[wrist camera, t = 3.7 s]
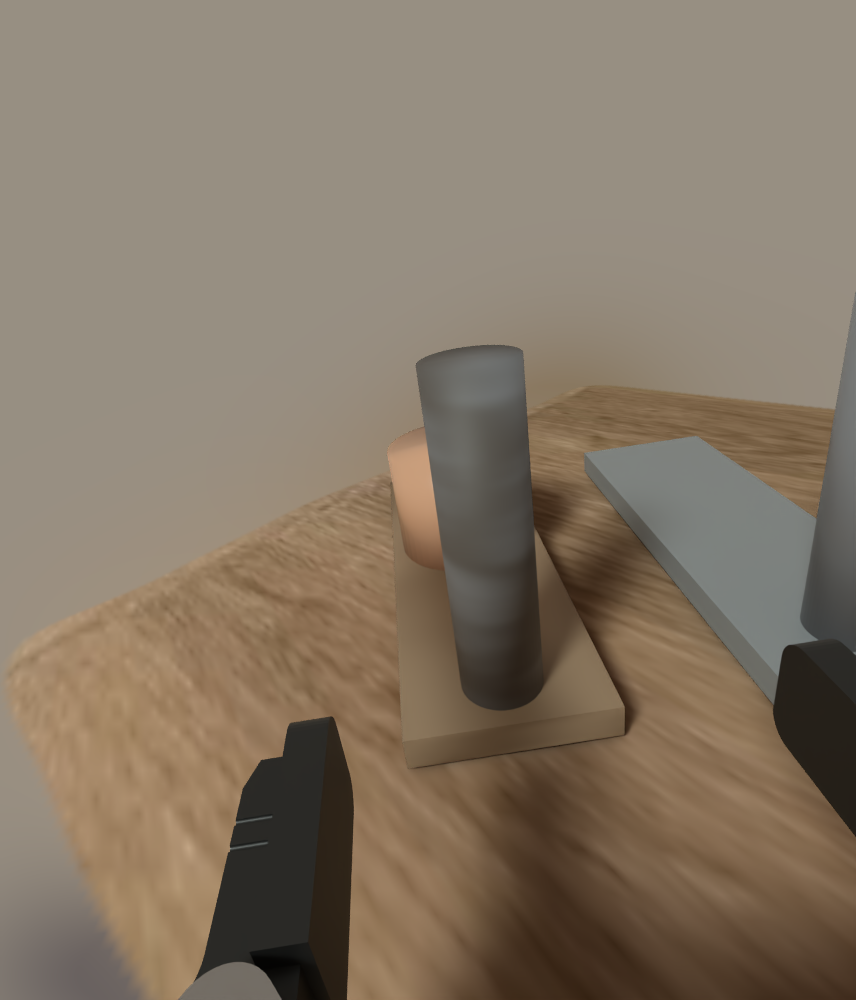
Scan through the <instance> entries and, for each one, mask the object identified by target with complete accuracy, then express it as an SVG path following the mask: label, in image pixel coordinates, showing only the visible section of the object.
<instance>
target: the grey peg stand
mask: <svg viewBox="0 0 856 1000" xmlns="http://www.w3.org/2000/svg"><path fill="white" fill-rule="evenodd" d="M584 463H585V472H586V473H587V474H588V476H589V477H590V478H591V479H592V481H593V482H594V483H595V484H596V486H597V487H598V488H599V489H600V491H601V492H602V493H603V494H604V496H605V497H606V498H607V499H608V500H609V502H610V503H611V504H612V505H613V507H614V508H615V509H616V510H617V512H618V513H619V514H620V515H621V517H622V518H623V519H624V520H625V522H626V523H627V524H628V525H629V526H630V528H631V529H632V530H633V531H634V533H635V534H636V535H637V536H638V538H639V539H640V540H641V541H642V543H643V544H644V545H645V546H646V548H647V549H648V550H649V551H650V553H651V554H652V555H653V556H654V557H655V559H656V560H657V561H658V562H659V564H660V565H661V566H662V567H663V569H664V570H665V571H666V572H667V574H668V575H669V576H670V577H671V579H672V580H673V581H674V582H675V583H676V585H677V586H678V587H679V588H680V590H681V591H682V592H683V593H684V595H685V596H686V597H687V598H688V600H689V601H690V602H691V603H692V605H693V606H694V607H695V608H696V609H697V611H698V612H699V613H700V614H701V616H702V617H703V618H704V619H705V621H706V622H707V623H708V624H709V626H710V627H711V628H712V629H713V631H714V632H715V633H716V634H717V635H718V637H719V638H720V639H721V640H722V642H723V643H724V644H725V645H726V647H727V648H728V649H729V650H730V652H731V653H732V654H733V655H734V657H735V658H736V659H737V660H738V661H739V663H740V664H741V665H742V666H743V668H744V669H745V670H746V671H747V673H748V674H749V675H750V676H751V678H752V679H753V680H754V681H755V683H756V684H757V685H758V686H759V688H760V689H761V690H762V691H763V692H764V694H765V695H766V696H767V697H768V699H769V700H770V701H771V702H772V704H773V705H774V700H775V694H776V688H777V682H778V675H779V669H780V663H781V657H782V652H783V650H784V648H785V647H786V646H788V645H792V644H798V643H805V642H811V641H817V640H823V639H830V638H832V639H836V640H838V641H840V642H842V643H843V644H844V645H845V646H846V647H847V648H849V649H850V650H851V651H852V652H853V653H854V654H855V655H856V293H855V298H854V304H853V309H852V316H851V321H850V327H849V333H848V339H847V344H846V351H845V356H844V362H843V368H842V374H841V380H840V386H839V392H838V397H837V403H836V409H835V415H834V420H833V426H832V432H831V438H830V444H829V450H828V455H827V461H826V467H825V473H824V479H823V485H822V491H821V496H820V502H819V508H818V514H817V519H816V518H814V517H813V516H812V515H810V514H809V513H807V512H806V511H804V510H803V509H801V508H800V507H799V506H797V505H796V504H794V503H793V502H791V501H790V500H788V499H787V498H786V497H784V496H783V495H781V494H780V493H778V492H777V491H775V490H774V489H773V488H771V487H770V486H768V485H767V484H765V483H764V482H762V481H761V480H760V479H758V478H757V477H755V476H754V475H752V474H751V473H749V472H748V471H747V470H745V469H744V468H742V467H741V466H739V465H738V464H736V463H735V462H734V461H732V460H731V459H729V458H728V457H726V456H725V455H723V454H722V453H721V452H719V451H718V450H716V449H715V448H713V447H712V446H710V445H709V444H708V443H706V442H705V441H703V440H702V439H700V438H699V437H698V436H693V437H687V438H680V439H674V440H667V441H660V442H654V443H647V444H641V445H634V446H628V447H621V448H614V449H608V450H601V451H595V452H588V453H584Z"/></svg>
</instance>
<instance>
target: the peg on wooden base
mask: <svg viewBox="0 0 856 1000" xmlns="http://www.w3.org/2000/svg"><path fill="white" fill-rule="evenodd" d="M416 371H417V377H418V385H419V392H420V399H421V406H422V413H423V420H424V427H425V434H426V441H427V448H428V455H429V462H430V469H431V476H432V484H433V491H434V498H435V505H436V512H437V519H438V526H439V533H440V540H441V547H442V554H443V561H444V568H445V571H442V570H435V569H430V568H427V567H424V566H422V565H419V564H417V563H415V562H414V561H412V560H411V559H410V558H409V557H408V556H407V555H406V553H405V551H404V546H403V540H402V535H401V529H400V523H399V518H398V512H397V506H396V500H395V495H394V489H393V483H392V482H391V505H392V527H393V549H394V571H395V593H396V615H397V637H398V659H399V682H400V704H401V726H402V743H403V748H404V753H405V757H406V762H407V767H408V769H410V768H416V767H422V766H429V765H435V764H442V763H448V762H454V761H461V760H467V759H473V758H480V757H486V756H492V755H499V754H505V753H512V752H518V751H524V750H531V749H537V748H543V747H550V746H556V745H563V744H569V743H575V742H582V741H588V740H594V739H601V738H607V737H613V736H620V735H624V732H625V706H624V704H623V702H622V700H621V698H620V696H619V694H618V692H617V690H616V688H615V686H614V684H613V682H612V680H611V678H610V676H609V674H608V672H607V670H606V668H605V666H604V664H603V662H602V660H601V658H600V656H599V654H598V652H597V650H596V648H595V646H594V644H593V642H592V640H591V638H590V636H589V634H588V632H587V630H586V628H585V626H584V624H583V622H582V620H581V618H580V616H579V614H578V612H577V610H576V608H575V606H574V604H573V602H572V600H571V599H570V597H569V595H568V593H567V591H566V589H565V587H564V585H563V583H562V581H561V579H560V577H559V575H558V573H557V571H556V569H555V567H554V565H553V563H552V561H551V559H550V557H549V555H548V553H547V551H546V549H545V547H544V545H543V543H542V541H541V539H540V537H539V535H538V533H537V531H536V529H535V527H534V519H533V503H532V487H531V471H530V455H529V439H528V423H527V407H526V391H525V375H524V360H523V351H522V350H521V349H519V348H516V347H512V346H505V345H481V346H470V347H462V348H456V349H451V350H446V351H442V352H438V353H435V354H432V355H429V356H427V357H425V358H423V359H421V360H419V361H418V362H417V363H416Z"/></svg>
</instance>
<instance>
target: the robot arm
mask: <svg viewBox="0 0 856 1000" xmlns="http://www.w3.org/2000/svg"><path fill="white" fill-rule="evenodd" d="M773 715H774V721H775V725H776V728H777V730H778V733H779V735H780V737H781V739H782V741H783V742H784V744H785V745H786V747H787V748H788V750H789V751H790V752H791V753H792V755H793V756H794V757H795V759H796V760H797V761H798V763H799V764H800V765H801V766H802V768H803V769H804V770H805V772H806V773H807V774H808V776H809V777H810V778H811V779H812V781H813V782H814V783H815V785H816V786H817V787H818V788H819V790H820V791H821V792H822V794H823V795H824V796H825V798H826V799H827V800H828V801H829V803H830V804H831V805H832V807H833V808H834V809H835V811H836V812H837V813H838V814H839V816H840V817H841V818H842V820H843V821H844V822H845V824H846V825H847V826H848V827H849V829H850V830H851V831H852V833H853V834H854V835H855V837H856V655H855V654H854V653H853V652H852V651H851V650H850V649H849V648H847V647H846V646H845V645H844V644H843V643H842V642H840V641H838V640H836V639H832V638H830V639H823V640H817V641H811V642H805V643H798V644H792V645H788V646H786V647H785V648H784V650H783V652H782V657H781V663H780V669H779V675H778V682H777V688H776V694H775V700H774V707H773ZM353 818H354V804H353V791H352V783H351V778H350V773H349V770H348V766H347V762H346V759H345V755H344V751H343V748H342V744H341V741H340V737H339V733H338V730H337V726H336V723H335V720H334V718H333V717H325V718H319V719H313V720H306V721H300V722H294V723H290V724H289V726H288V729H287V734H286V739H285V745H284V751H283V757H278V758H272V759H265V760H261V761H260V763H259V764H258V766H257V768H256V769H255V771H254V772H253V774H252V775H251V777H250V778H249V780H248V782H247V783H246V785H245V786H244V788H243V791H242V795H241V799H240V804H239V808H238V812H237V817H236V826H234V830H233V834H232V838H231V843H230V852H228V855H227V860H226V864H225V868H224V873H223V877H222V881H221V886H220V890H219V894H218V899H217V903H216V907H215V912H214V916H213V920H212V925H211V929H210V933H209V938H208V942H207V946H206V951H205V955H204V958H203V962H202V965H201V967H200V970H199V972H198V975H197V977H196V979H195V981H194V982H193V984H192V985H191V986H190V987H189V988H188V989H187V990H186V991H185V992H184V993H183V994H182V996H181V997H180V998H179V999H178V1000H347V980H348V953H349V926H350V899H351V872H352V845H353Z"/></svg>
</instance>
